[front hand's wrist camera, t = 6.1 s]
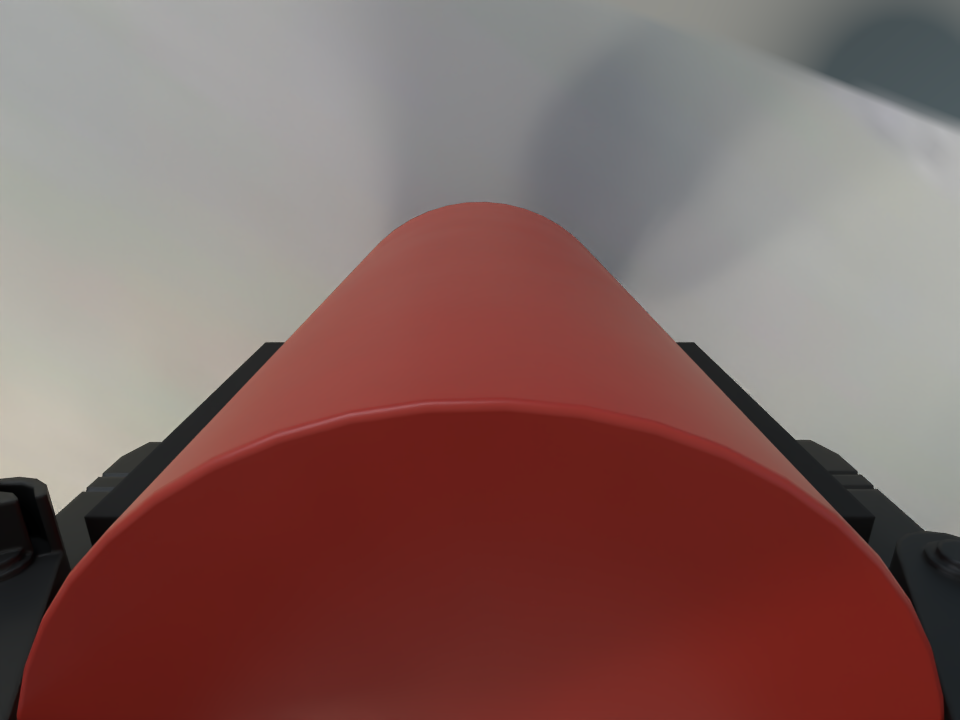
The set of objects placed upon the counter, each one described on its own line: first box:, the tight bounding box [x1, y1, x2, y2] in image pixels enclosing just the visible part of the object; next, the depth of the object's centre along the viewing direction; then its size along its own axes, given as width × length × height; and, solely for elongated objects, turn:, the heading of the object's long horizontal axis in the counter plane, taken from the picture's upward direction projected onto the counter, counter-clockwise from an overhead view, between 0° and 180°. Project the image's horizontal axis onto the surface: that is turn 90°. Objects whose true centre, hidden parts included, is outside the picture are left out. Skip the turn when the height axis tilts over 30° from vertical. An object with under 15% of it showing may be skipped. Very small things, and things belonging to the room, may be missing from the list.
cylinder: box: [17, 202, 944, 720], centre depth 11 cm, size 8×8×13 cm
